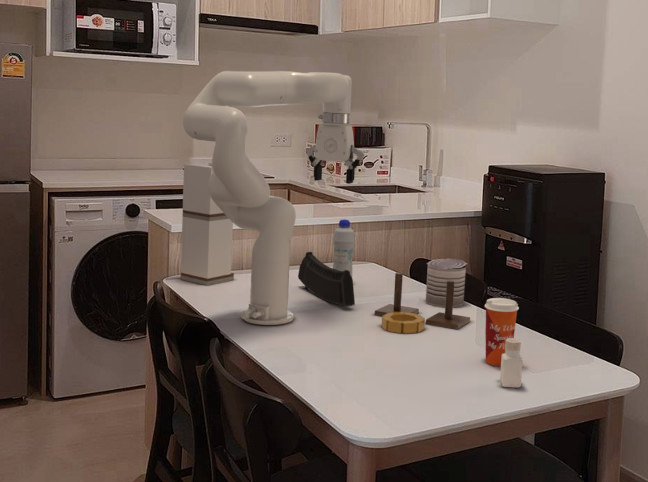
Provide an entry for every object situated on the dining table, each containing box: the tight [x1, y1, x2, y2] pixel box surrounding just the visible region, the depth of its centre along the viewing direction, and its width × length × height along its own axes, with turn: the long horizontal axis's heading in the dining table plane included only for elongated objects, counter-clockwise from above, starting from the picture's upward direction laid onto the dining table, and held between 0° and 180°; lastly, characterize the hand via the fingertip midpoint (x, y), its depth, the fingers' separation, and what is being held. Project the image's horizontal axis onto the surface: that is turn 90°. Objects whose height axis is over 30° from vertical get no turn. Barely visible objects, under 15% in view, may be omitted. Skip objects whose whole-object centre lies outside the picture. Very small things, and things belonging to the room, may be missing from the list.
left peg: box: [374, 272, 420, 317], centre depth 222 cm, size 9×9×11 cm
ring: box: [381, 312, 426, 334], centre depth 210 cm, size 10×10×3 cm
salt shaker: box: [499, 337, 524, 388], centre depth 171 cm, size 4×4×10 cm
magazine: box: [297, 251, 356, 307], centre depth 235 cm, size 17×3×30 cm
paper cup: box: [484, 297, 520, 367], centre depth 186 cm, size 8×8×14 cm
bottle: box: [332, 218, 356, 278], centre depth 255 cm, size 7×7×20 cm
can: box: [425, 258, 468, 308], centre depth 238 cm, size 11×11×12 cm
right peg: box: [425, 280, 471, 330], centre depth 216 cm, size 9×9×11 cm
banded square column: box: [180, 162, 235, 286], centre depth 249 cm, size 11×11×35 cm
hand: (333, 181), depth 227 cm, fingers open, 9 cm apart
